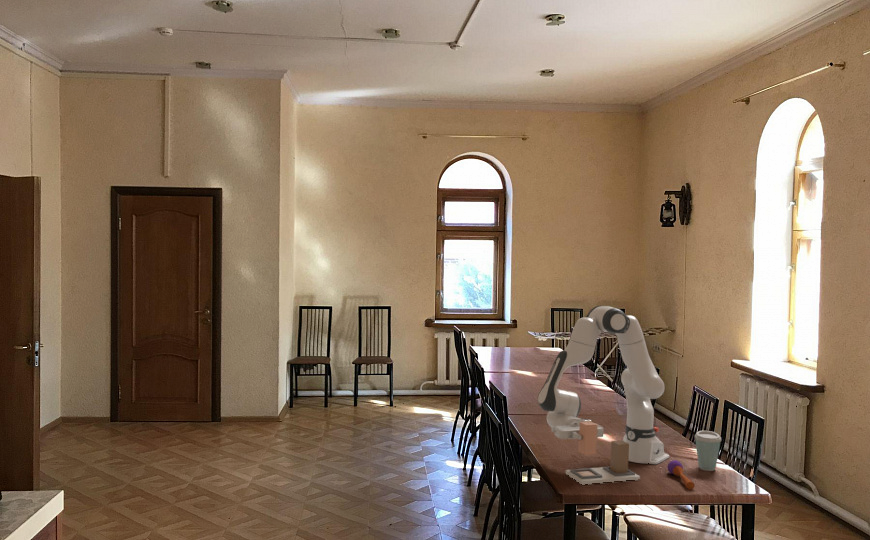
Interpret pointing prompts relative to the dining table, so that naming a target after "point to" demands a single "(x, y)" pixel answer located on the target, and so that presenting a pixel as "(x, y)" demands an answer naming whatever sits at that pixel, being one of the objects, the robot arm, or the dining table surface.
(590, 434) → the terracotta pillar
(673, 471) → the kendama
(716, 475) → the dining table surface
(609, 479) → the board
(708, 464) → the disposable coffee cup
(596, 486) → the dining table surface
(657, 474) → the dining table surface
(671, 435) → the dining table surface
